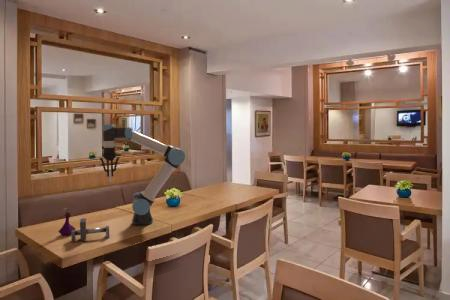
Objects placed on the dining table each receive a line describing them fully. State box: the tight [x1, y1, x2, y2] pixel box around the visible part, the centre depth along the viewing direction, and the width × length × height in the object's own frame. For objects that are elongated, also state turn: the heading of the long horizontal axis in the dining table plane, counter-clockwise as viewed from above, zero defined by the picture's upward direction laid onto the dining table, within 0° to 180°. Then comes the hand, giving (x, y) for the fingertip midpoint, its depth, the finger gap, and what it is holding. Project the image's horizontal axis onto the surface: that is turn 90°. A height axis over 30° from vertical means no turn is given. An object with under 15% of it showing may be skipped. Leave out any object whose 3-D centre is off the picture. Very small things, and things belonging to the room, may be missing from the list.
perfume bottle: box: [58, 208, 76, 237], centre depth 208 cm, size 8×8×18 cm
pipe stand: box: [71, 225, 110, 243], centre depth 200 cm, size 22×5×7 cm, turn 112°
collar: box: [79, 217, 87, 242], centre depth 198 cm, size 3×9×12 cm, turn 22°
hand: (110, 181), depth 215 cm, fingers closed
